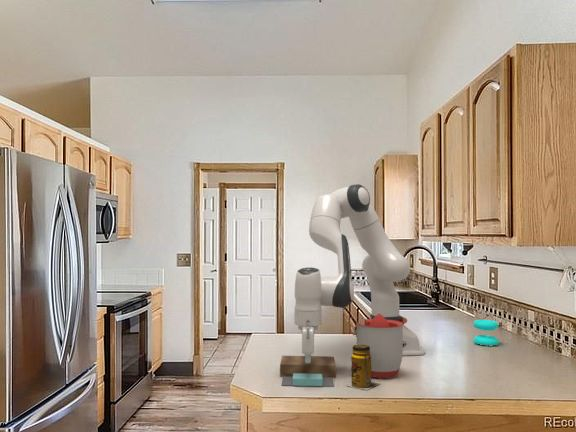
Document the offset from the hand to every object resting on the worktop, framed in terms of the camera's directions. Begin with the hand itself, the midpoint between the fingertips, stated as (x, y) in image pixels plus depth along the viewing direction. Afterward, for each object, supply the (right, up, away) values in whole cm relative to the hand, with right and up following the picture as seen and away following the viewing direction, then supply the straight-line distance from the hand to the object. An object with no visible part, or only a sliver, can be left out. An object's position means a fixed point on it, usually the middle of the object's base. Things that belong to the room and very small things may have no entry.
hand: (307, 362), depth 157 cm
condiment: (+17, -5, -7) cm, 19 cm away
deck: (0, -5, +7) cm, 9 cm away
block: (0, -3, -6) cm, 7 cm away
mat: (0, -5, -4) cm, 6 cm away
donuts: (+78, -8, +52) cm, 95 cm away
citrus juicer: (+23, -6, +6) cm, 25 cm away
